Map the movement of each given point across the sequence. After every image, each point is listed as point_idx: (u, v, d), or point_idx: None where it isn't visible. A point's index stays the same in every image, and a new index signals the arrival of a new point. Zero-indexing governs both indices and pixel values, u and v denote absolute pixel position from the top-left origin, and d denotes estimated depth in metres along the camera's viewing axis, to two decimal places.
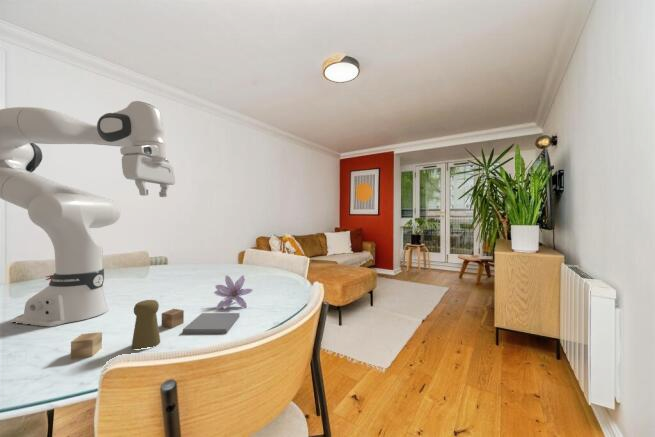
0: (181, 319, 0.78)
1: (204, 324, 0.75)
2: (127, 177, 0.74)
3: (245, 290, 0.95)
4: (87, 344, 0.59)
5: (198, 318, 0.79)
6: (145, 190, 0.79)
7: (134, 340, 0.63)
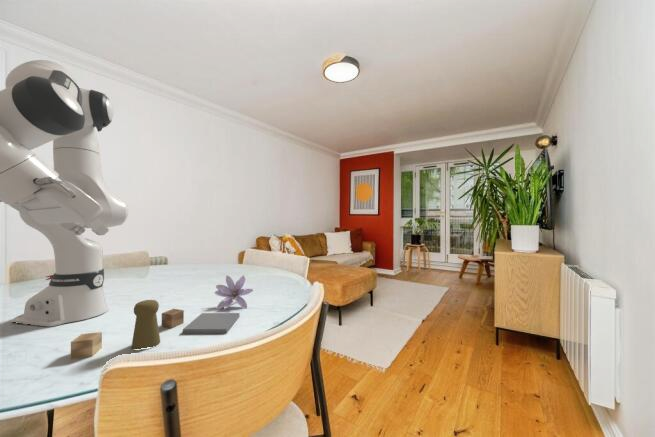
0: (181, 319, 0.78)
1: (204, 324, 0.75)
2: None
3: (246, 290, 0.95)
4: (87, 344, 0.59)
5: (198, 318, 0.79)
6: (70, 231, 0.56)
7: (134, 340, 0.63)
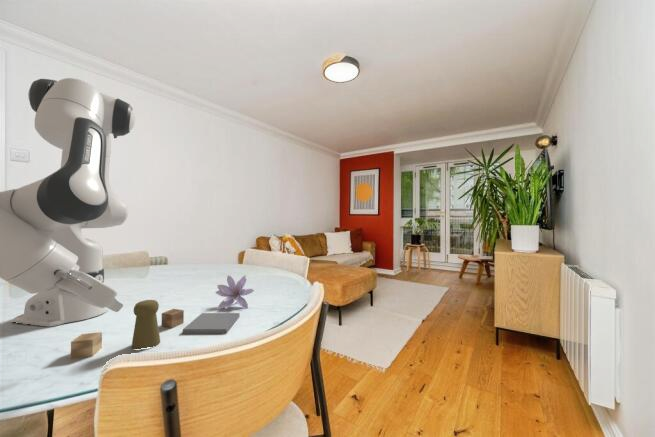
0: (181, 319, 0.78)
1: (204, 324, 0.75)
2: None
3: (247, 290, 0.95)
4: (87, 344, 0.59)
5: (198, 318, 0.79)
6: None
7: (134, 340, 0.63)
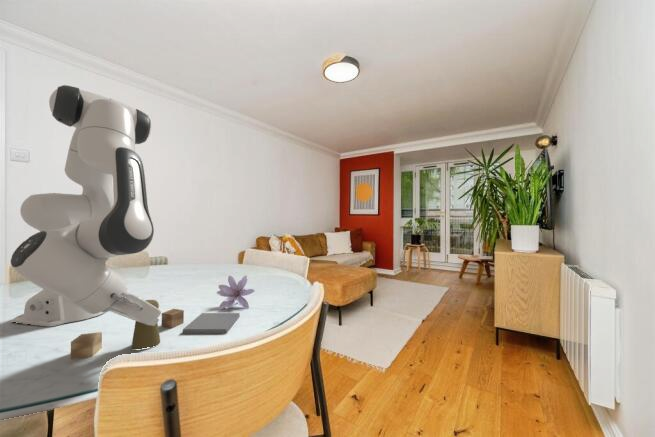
0: (181, 319, 0.78)
1: (204, 324, 0.75)
2: None
3: (247, 290, 0.95)
4: (87, 344, 0.59)
5: (198, 318, 0.79)
6: None
7: (134, 340, 0.63)
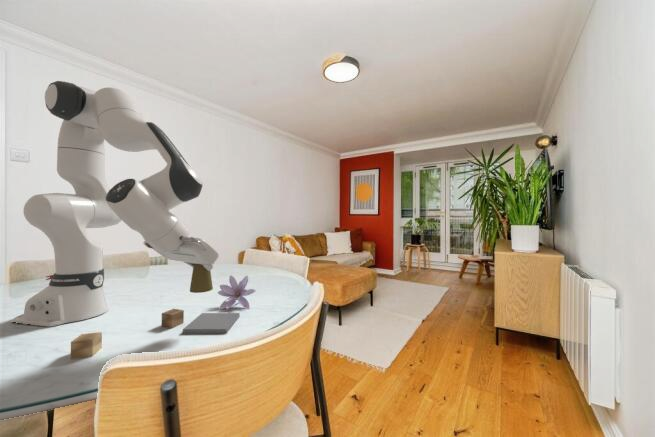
0: (181, 319, 0.78)
1: (204, 324, 0.75)
2: None
3: (248, 290, 0.95)
4: (87, 344, 0.59)
5: (198, 318, 0.79)
6: (191, 266, 0.75)
7: (193, 284, 0.72)
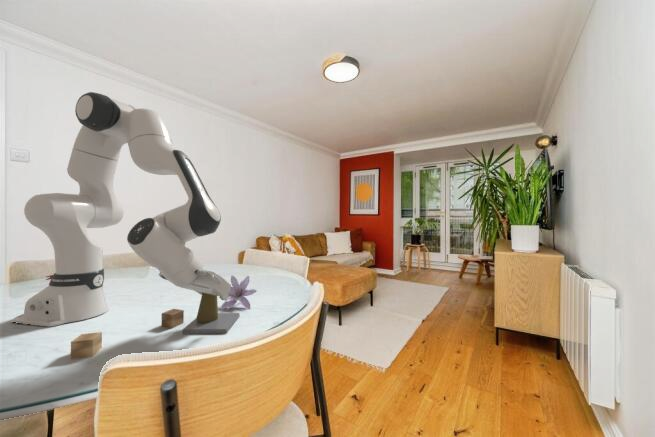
0: (181, 319, 0.78)
1: (204, 324, 0.75)
2: None
3: (250, 291, 0.95)
4: (87, 344, 0.59)
5: None
6: (199, 293, 0.79)
7: (200, 313, 0.76)
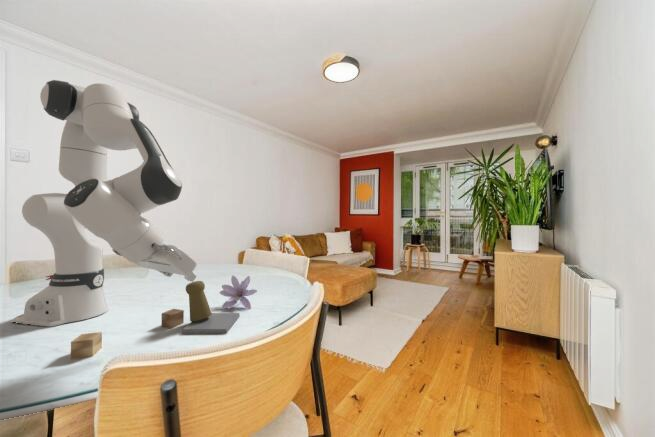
0: (181, 319, 0.78)
1: (204, 324, 0.75)
2: None
3: (250, 291, 0.94)
4: (87, 344, 0.59)
5: None
6: (163, 273, 0.69)
7: (191, 313, 0.76)
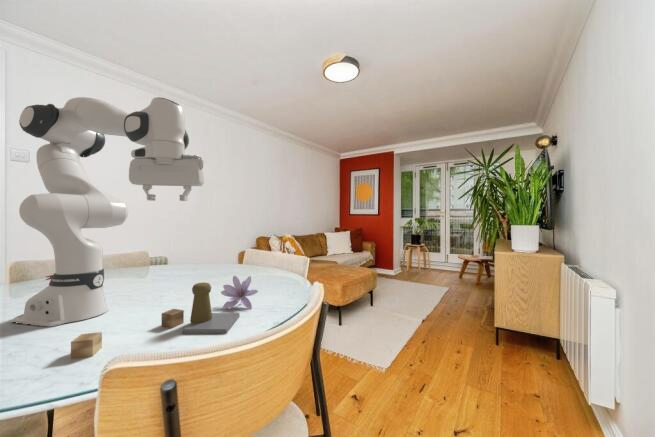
0: (181, 319, 0.78)
1: (204, 324, 0.75)
2: None
3: (251, 291, 0.94)
4: (88, 344, 0.59)
5: None
6: (147, 195, 0.76)
7: (193, 315, 0.76)
